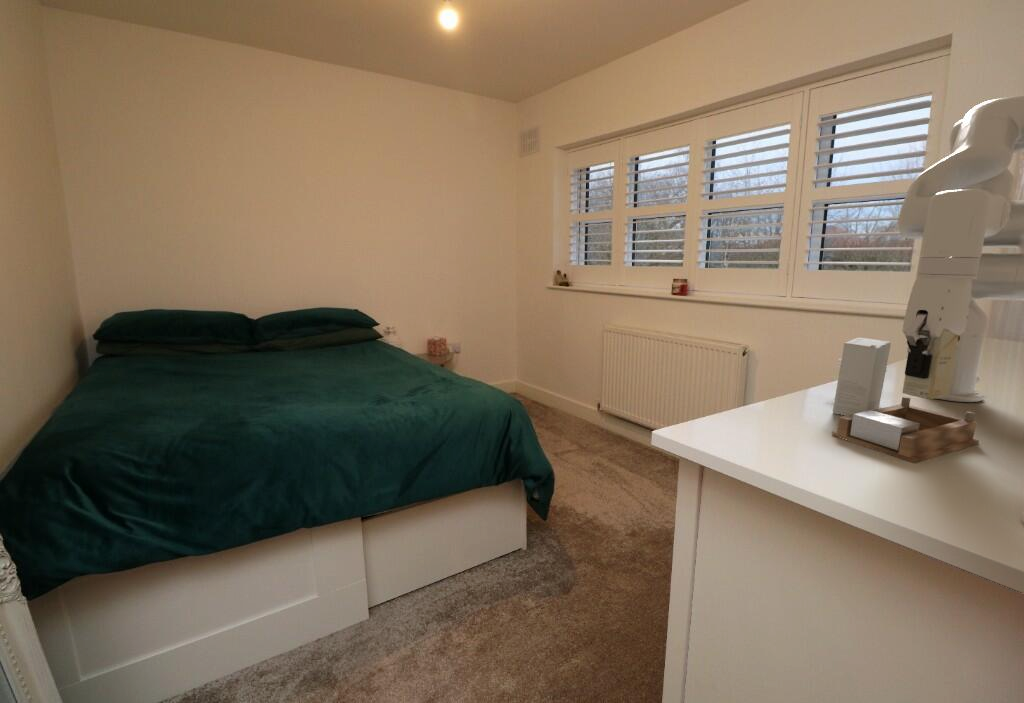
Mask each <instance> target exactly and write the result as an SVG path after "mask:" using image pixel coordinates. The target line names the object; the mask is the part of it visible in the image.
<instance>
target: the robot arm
mask: <svg viewBox="0 0 1024 703" xmlns="http://www.w3.org/2000/svg"><path fill="white" fill-rule="evenodd" d="M949 147H950V148H949V149H950V150H949V151H950V154H949V156H946V157H945V158H942V159H941V160H940V161H938V162H936V163H935V164H933V165H932V166H930V167H928V168H927V169H926V170H924V171H922V172H921V173H920V174H919V175H918V176H917V177H916V178H915V179H914V180H913V181H912V183H911V184H910V185H909V187H908V190H907V192H906V194H905V196H904V200H903V203H902V205H901V208H900V210H899V215H898V218H897V219H898V220H897V228H898V231H899V233H900V235H902V237H904V238H907V239H911V240H922V241H921V246H920V253H919V257H918V263H917V270H916V276H915V277H916V278H915V281H914V283H913V286H912V288H911V290H910V291H911V292H910V295H909V298H908V302H907V306H906V310H905V314H904V317H903V318H904V319H903V323H902V324H903V325H902V329H901V330H902V333H903V334H904V336H905V338H906V344H907V349H906V352H907V357H906V363H905V370H904V376H905V375H907V376H912V377H917V378H922V379H926V378H928V377H929V371H930V366H931V360H932V355H929V354H930V351H931V349H932V347H933V344H934V341H935V339H937V338H939V337H940V336H941V334H942V332H943V329H944V328H947V329H948V330H950V331H951V332H953V333H955V334H956V335H959V337H958V343H957V349H956V355H955V361H954V366H953V372H952V378H951V383H950V389H949V394H948V396H944V397H939V398H935V399H936V400H937V399H938V400H943V401H950V402H961V403H976V402H977V403H978V402H981V401H983V397H984V395H983V393H981V392H979V391H977V390H975V388H976V384H978V383H979V382H980V381H981V380H980V377H979V376H978V373H979V368H980V363H981V358H982V352H983V348H984V343H985V338H986V334H987V329H988V328H987V327H988V324H989V322H988V316H987V314H986V313H985V311H984V310H983V309H982V308H981V307H980V306H979V305H978V304H977V303H976V300H984V299H985V300H1001V301H1002V300H1003V301H1024V199H1020V200H1012V199H1011V196H1012V191H1013V187H1014V183H1015V177H1014V175H1013V173H1012V171H1010V169H1009V166H1010V165H1011V162H1012V160H1013V154H1016V153H1018V154H1019V153H1024V94H1020V95H1013V96H1007V97H1001V98H996V99H995V98H994V99H991V100H987V101H984V102H982V103H980V104H978V105H975V106H974V107H972V109H970V110H969V111H968V112H967V113H965V116H964V117H963V119H960V120H958V122H956V123H955V124H954V125H953V127H952V129H951V131H950V137H949ZM985 248H986V249H988V248H989V249H990V248H991V249H992V248H994V249H995V248H996V249H997V248H1002V249H1005V248H1006V249H1007V248H1008V249H1009V248H1011V249H1013V248H1014V249H1017V250H1019V252H1020V253H1007V252H1006V253H1005V252H1003V253H992V252H982V251H983V249H985ZM920 331H921V332H927V333H929V335H930V336H928V335H920V334H919V333H920ZM923 340H926V341H927V342H926V344H925V345H924V342H923Z"/></svg>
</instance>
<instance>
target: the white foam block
mask: <svg viewBox="0 0 1024 703" xmlns="http://www.w3.org/2000/svg"><path fill="white" fill-rule="evenodd" d="M919 426H920V423H917V422H913V421H909V420H906V419H902V418H898V417H894V416H891V415H887V414H883V413H880V412H876V411H872V410H870V411H865V412H860V413H856V414H853V419H852V426H851V432H850V435H851V436H854V437H858V438H861V439H864V440H867V441H870V442H873V443H876V444H879V445H882V446H885V447H888V448H891V449H895V450H899V447H900V441H901V436H902V435H906V434H910V433H914V432H918V431H919Z"/></svg>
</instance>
